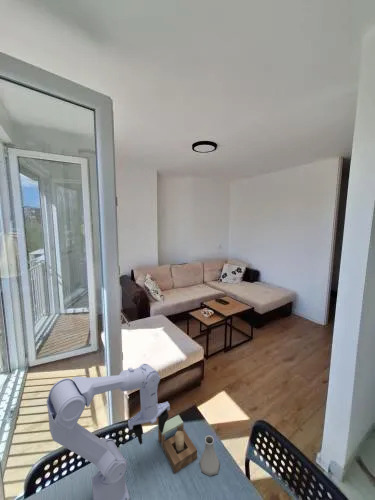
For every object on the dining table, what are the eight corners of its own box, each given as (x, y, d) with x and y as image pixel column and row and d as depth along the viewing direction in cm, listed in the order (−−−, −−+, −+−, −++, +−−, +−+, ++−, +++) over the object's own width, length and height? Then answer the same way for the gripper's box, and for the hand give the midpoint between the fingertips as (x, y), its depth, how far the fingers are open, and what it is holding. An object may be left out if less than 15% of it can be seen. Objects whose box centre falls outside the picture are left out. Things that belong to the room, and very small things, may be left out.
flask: (219, 454, 80) (219, 430, 79) (220, 477, 73) (220, 451, 72) (199, 453, 81) (199, 428, 80) (198, 475, 74) (198, 449, 73)
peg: (174, 453, 81) (173, 433, 80) (181, 448, 83) (180, 429, 82) (178, 460, 79) (178, 440, 78) (185, 455, 80) (185, 435, 79)
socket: (174, 473, 75) (174, 464, 74) (163, 450, 82) (163, 442, 82) (197, 458, 79) (197, 449, 79) (184, 437, 87) (184, 429, 86)
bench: (162, 449, 83) (162, 434, 82) (158, 440, 86) (157, 425, 85) (183, 436, 87) (183, 422, 86) (178, 428, 91) (178, 414, 90)
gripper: (131, 419, 69) (134, 457, 70) (173, 399, 76) (174, 434, 78) (125, 404, 75) (127, 439, 76) (164, 386, 82) (165, 419, 84)
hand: (150, 435), depth 77 cm, fingers open, 7 cm apart
